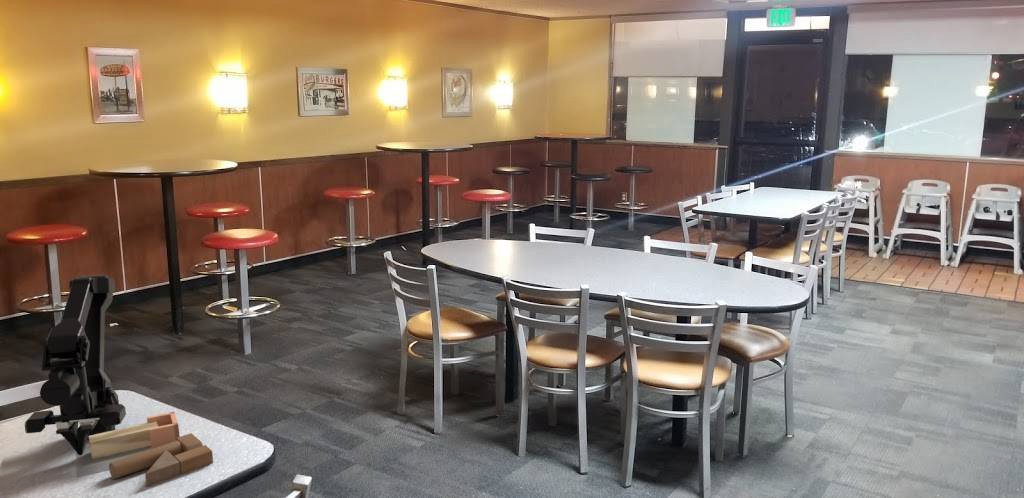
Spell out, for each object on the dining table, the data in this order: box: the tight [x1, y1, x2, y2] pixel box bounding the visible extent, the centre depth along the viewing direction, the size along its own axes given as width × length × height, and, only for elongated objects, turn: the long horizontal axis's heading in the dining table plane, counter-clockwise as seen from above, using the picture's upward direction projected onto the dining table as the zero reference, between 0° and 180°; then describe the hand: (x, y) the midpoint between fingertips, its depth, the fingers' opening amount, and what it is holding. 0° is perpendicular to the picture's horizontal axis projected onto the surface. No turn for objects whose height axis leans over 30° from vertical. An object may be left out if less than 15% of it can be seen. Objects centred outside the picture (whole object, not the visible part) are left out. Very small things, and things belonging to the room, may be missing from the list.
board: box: [75, 445, 152, 478], centre depth 175 cm, size 15×21×1 cm
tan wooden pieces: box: [108, 432, 214, 488], centre depth 166 cm, size 4×11×18 cm
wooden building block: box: [88, 421, 158, 459], centre depth 176 cm, size 4×14×4 cm, turn 122°
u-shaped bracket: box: [146, 411, 181, 449], centre depth 180 cm, size 8×6×5 cm
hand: (81, 454), depth 172 cm, fingers closed
